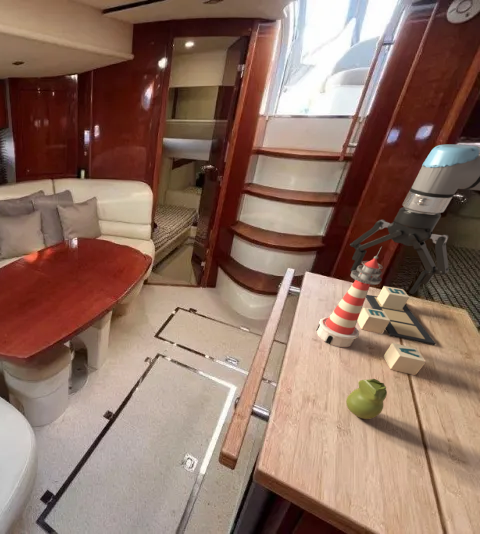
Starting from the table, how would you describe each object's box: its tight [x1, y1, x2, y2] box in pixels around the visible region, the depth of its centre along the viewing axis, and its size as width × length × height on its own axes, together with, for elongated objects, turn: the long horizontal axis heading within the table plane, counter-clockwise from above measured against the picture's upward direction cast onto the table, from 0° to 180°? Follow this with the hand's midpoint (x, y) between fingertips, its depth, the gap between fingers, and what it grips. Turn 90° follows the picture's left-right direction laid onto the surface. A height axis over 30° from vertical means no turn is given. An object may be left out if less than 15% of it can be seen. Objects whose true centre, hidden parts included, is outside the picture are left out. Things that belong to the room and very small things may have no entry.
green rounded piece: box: [345, 378, 388, 420], centre depth 67 cm, size 6×5×10 cm
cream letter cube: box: [382, 342, 427, 376], centre depth 79 cm, size 5×5×5 cm
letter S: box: [377, 285, 410, 310], centre depth 100 cm, size 5×5×5 cm
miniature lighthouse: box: [316, 246, 384, 348], centre depth 82 cm, size 9×9×30 cm
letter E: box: [357, 306, 390, 334], centre depth 92 cm, size 5×5×5 cm
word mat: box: [365, 294, 437, 346], centre depth 96 cm, size 10×22×1 cm, turn 156°
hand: (381, 280), depth 88 cm, fingers open, 13 cm apart
